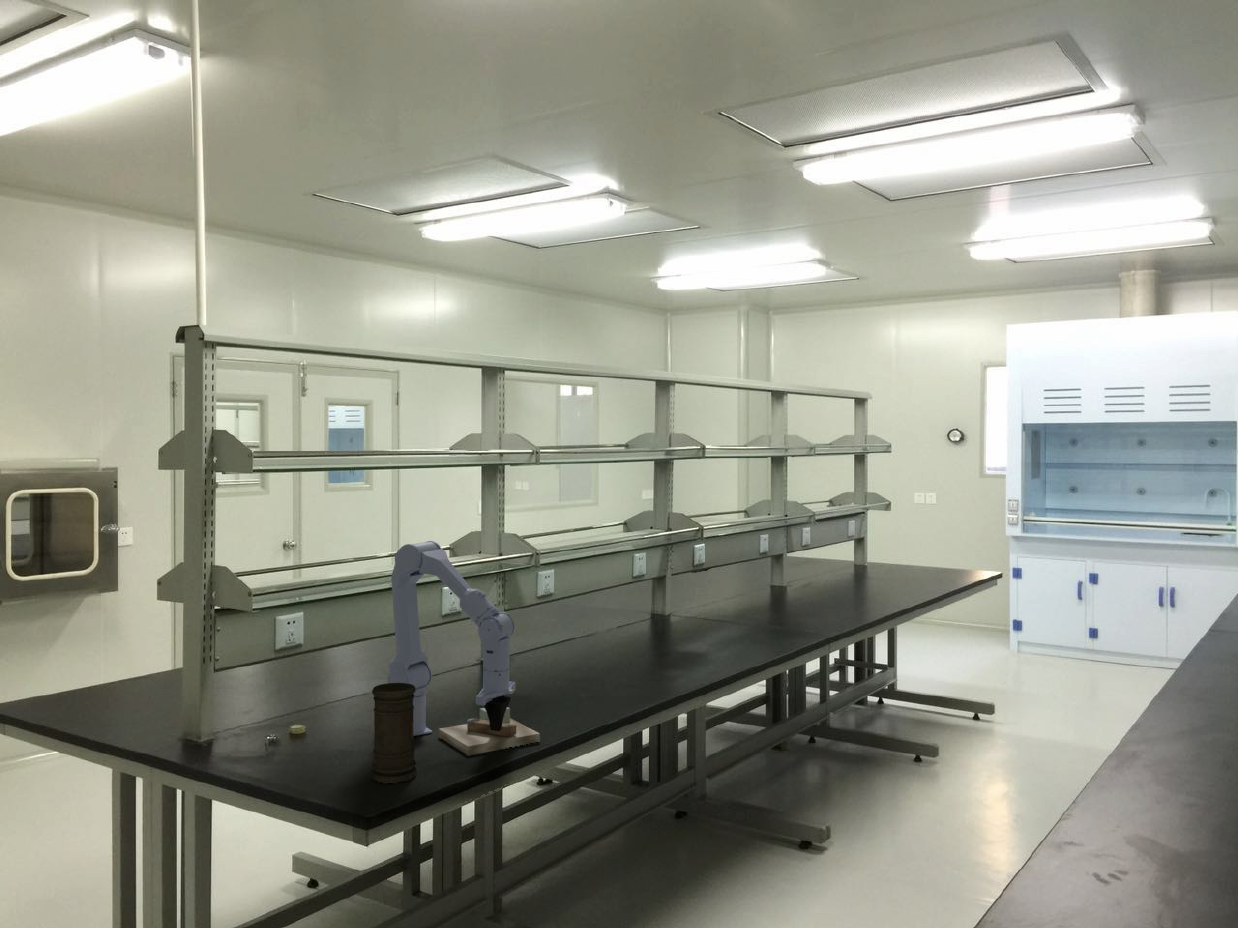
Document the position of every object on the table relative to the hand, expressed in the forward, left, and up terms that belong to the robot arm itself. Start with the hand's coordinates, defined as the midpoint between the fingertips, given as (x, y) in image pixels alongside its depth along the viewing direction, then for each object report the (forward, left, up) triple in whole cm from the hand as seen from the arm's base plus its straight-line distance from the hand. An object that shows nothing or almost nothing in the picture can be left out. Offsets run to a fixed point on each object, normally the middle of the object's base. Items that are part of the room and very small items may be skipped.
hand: (495, 730), depth 219 cm
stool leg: (0, +3, -1) cm, 3 cm away
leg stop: (+5, +10, -1) cm, 11 cm away
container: (-26, -7, -4) cm, 27 cm away
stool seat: (+1, +5, -3) cm, 6 cm away
